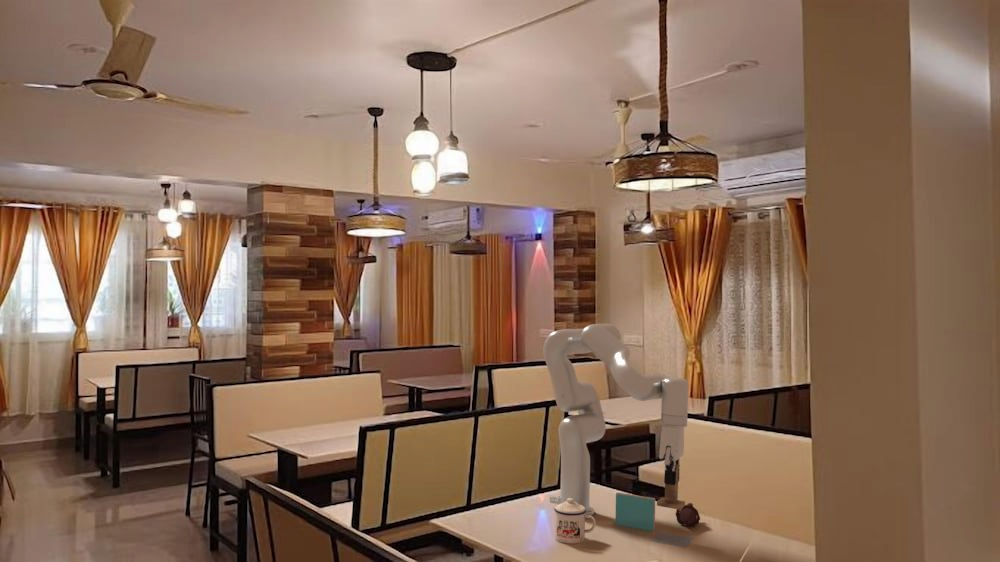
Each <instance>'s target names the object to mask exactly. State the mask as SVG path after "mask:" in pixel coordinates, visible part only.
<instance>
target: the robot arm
mask: <svg viewBox="0 0 1000 562" xmlns="http://www.w3.org/2000/svg"><path fill="white" fill-rule="evenodd" d="M544 340H545V341H544V344H543V350H542V352H543V357H544V362H545V364H546V367H547V370H548V373H549V377H550V381H551V387H552V391H553V395H554V399H555V402H556V405H557V408H558V409H559V410H560V411H562V412H564V413H568V412H570V413H571V412H576V411H577V413H578V414H575V415H570V416H567V417H565V418H563V419H562V420H561V421H560V424H559V425H558V438H559V445H560V446H559V447H560V492H559V493H560V494H559V496H556V495H550V496H549V502H550V503H551V504H556V506H557V505H558V504H562V503H564V502H566V501H567V499H568V498H572V499H574V502H576V503H577V504H579V505H582V506H584V507H585V510H586V512H585V515H591V516H592V517H593V516H594V514H595V509H594V508H593V507H592V506H590V495H591V494H590V489H591V486H590V485H591V480H590V479H591V455H590V452H589V450H588V449H589V448H588V446H587V444H588V443H594V442H597V441H599V440H601V439H602V438H603V437H604V436H605V433H606V421H605V416H604V413H603V409H602V404H601V401H600V397H599V393H598V391H597V389H596V388H595V386H594V385H593V384H592V383H590V382H588V381H585V380H584V381H578V377H577V375H576V370H575V367H574V365H573V363H572V361H571V360H570V359H569V358H568V355H581V354H583V355H584V354H589V353H590V354H591V353H592V354H593V355H594V356H595V357H597V358H598V359H599V360H600V361H602V363H603V364H605V365H606V366H607V367H608V368H609V369H610V372H611V375H612V377H613V379H614V382H615V383H616V385H618V386H619V387H620V388H621V389H622V390H623V391H624V392H625V393H627V394H628V395H629V396H630V397H632V398H633V399H635V401H636V400H637V401H640V402H646V401H652V400H659V399H661V406H660V408H661V410H660V413H661V414H660V425H661V426H662V428H661V435H660V442H659V444H660V445H659V453H658V454H659V459H660V460H664V479H663V480H664V485H665V484H670V485H675V484H676V471H675V463H678V464H679V470H680V467H681V466H680V465H681V464H680V463H681V462H680V460H681V458H682V457H683V456H684V450H685V428H687V427H688V413H689V412H688V410H689V388H690V386H689V385H690V384H689V382H688V380H687V379H685V378H682V377H676V376H675V377H674V376H668V375H665V374H662V373H649V374H641V373H639V372H638V371H637V370H636V369H635V368H633V366H632V365H631V364H630V363H629V362H628V361H629V359H630V356H631V350H630V348H629V347H628V346H627V345H626V344H624V343H623V342H622V341H621V340H622V335H621V332H620V330H619V328H618V327H616V326H615V324H611V323H592V324H589V325H587V326H585V327H584V328H565V329H557V330H554V331H552V332H551V333H550V334H549V335H548V336H547V337H546V338H545V339H544ZM670 462H671V463H670ZM672 463H673V466H672ZM679 482H680V473H679V474H678V483H679Z"/></svg>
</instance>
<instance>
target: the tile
mask: <svg viewBox="0 0 1000 562" xmlns="http://www.w3.org/2000/svg"><path fill="white" fill-rule="evenodd" d="M614 523H615V526H622V527H627V528H632V529H638V530H644V531H649V532H654V531H655V529H656V498H655V497H649V496H644V495H643V496H642V495H638V494H630V493H623V492H616V493H615V522H614Z"/></svg>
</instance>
